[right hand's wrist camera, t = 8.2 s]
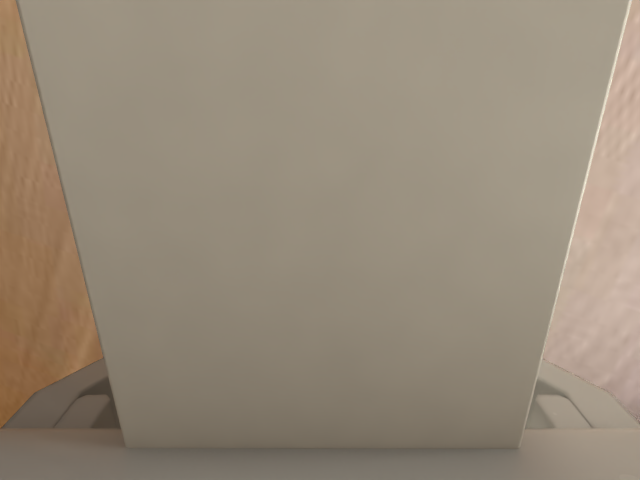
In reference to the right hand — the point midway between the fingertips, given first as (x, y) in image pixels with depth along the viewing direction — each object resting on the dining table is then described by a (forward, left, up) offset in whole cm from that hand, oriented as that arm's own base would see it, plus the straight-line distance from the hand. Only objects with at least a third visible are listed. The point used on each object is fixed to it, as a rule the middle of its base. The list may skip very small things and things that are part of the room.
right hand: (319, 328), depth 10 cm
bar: (+10, 0, -4) cm, 10 cm away
